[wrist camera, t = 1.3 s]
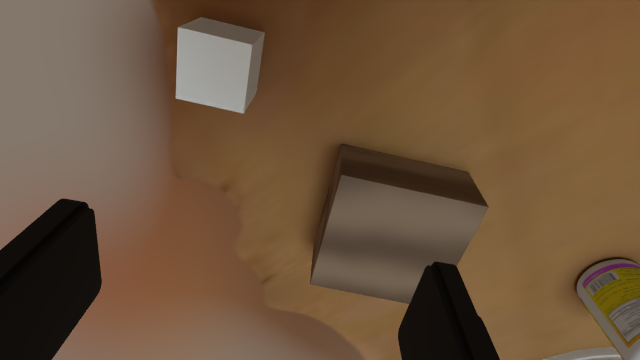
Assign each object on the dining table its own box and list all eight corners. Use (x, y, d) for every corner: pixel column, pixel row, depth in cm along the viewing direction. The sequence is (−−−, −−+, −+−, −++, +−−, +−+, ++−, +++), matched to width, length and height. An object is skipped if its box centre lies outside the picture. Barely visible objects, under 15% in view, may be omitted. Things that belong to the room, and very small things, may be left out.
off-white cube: (201, 17, 30) (177, 27, 25) (265, 32, 30) (252, 44, 26) (198, 79, 32) (175, 98, 28) (256, 92, 33) (243, 113, 28)
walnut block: (341, 142, 35) (341, 174, 30) (467, 170, 36) (488, 207, 30) (314, 242, 41) (309, 284, 36) (422, 264, 42) (433, 308, 36)
